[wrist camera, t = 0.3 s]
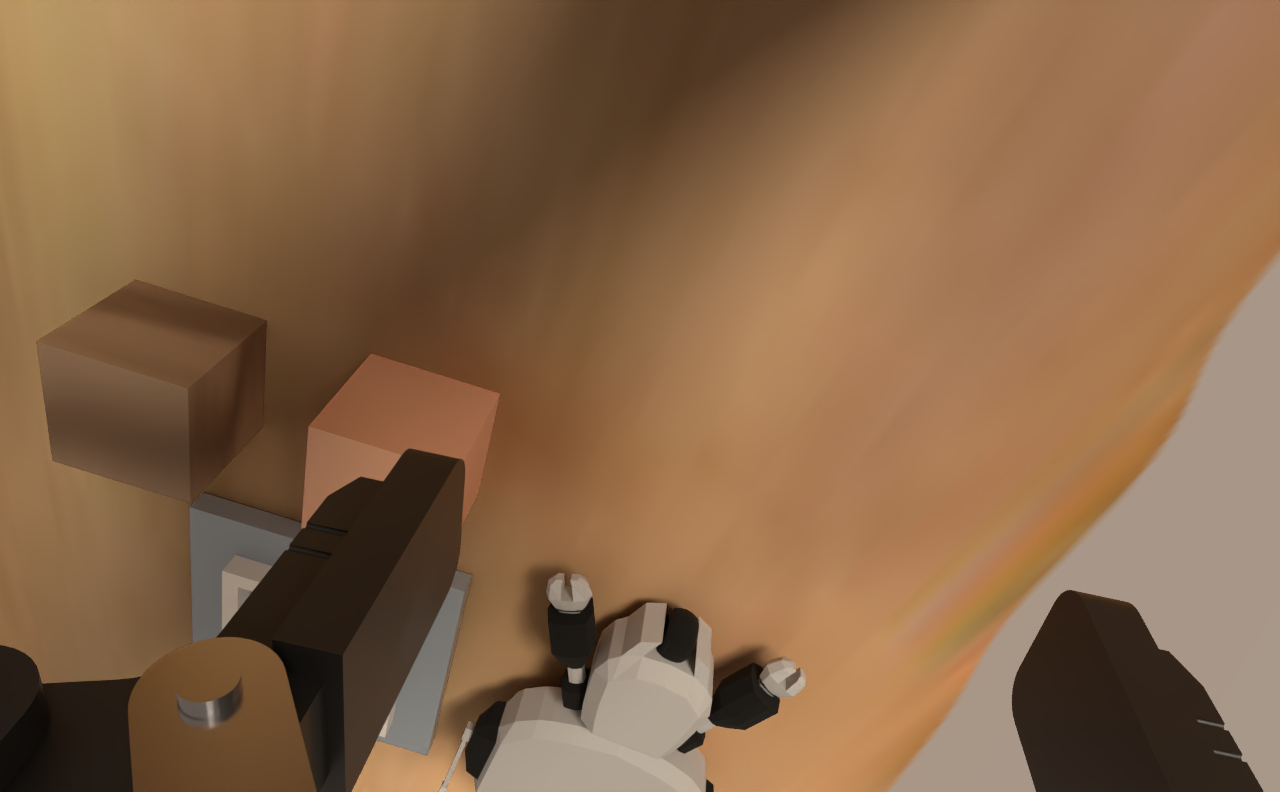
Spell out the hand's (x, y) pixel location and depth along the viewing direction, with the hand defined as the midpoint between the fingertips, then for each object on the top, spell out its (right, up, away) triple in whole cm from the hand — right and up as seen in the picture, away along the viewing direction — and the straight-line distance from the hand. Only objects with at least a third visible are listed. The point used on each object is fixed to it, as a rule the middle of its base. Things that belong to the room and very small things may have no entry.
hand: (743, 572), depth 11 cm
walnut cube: (-18, +4, +21) cm, 28 cm away
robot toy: (-2, -11, +28) cm, 30 cm away
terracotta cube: (-10, +1, +21) cm, 24 cm away
